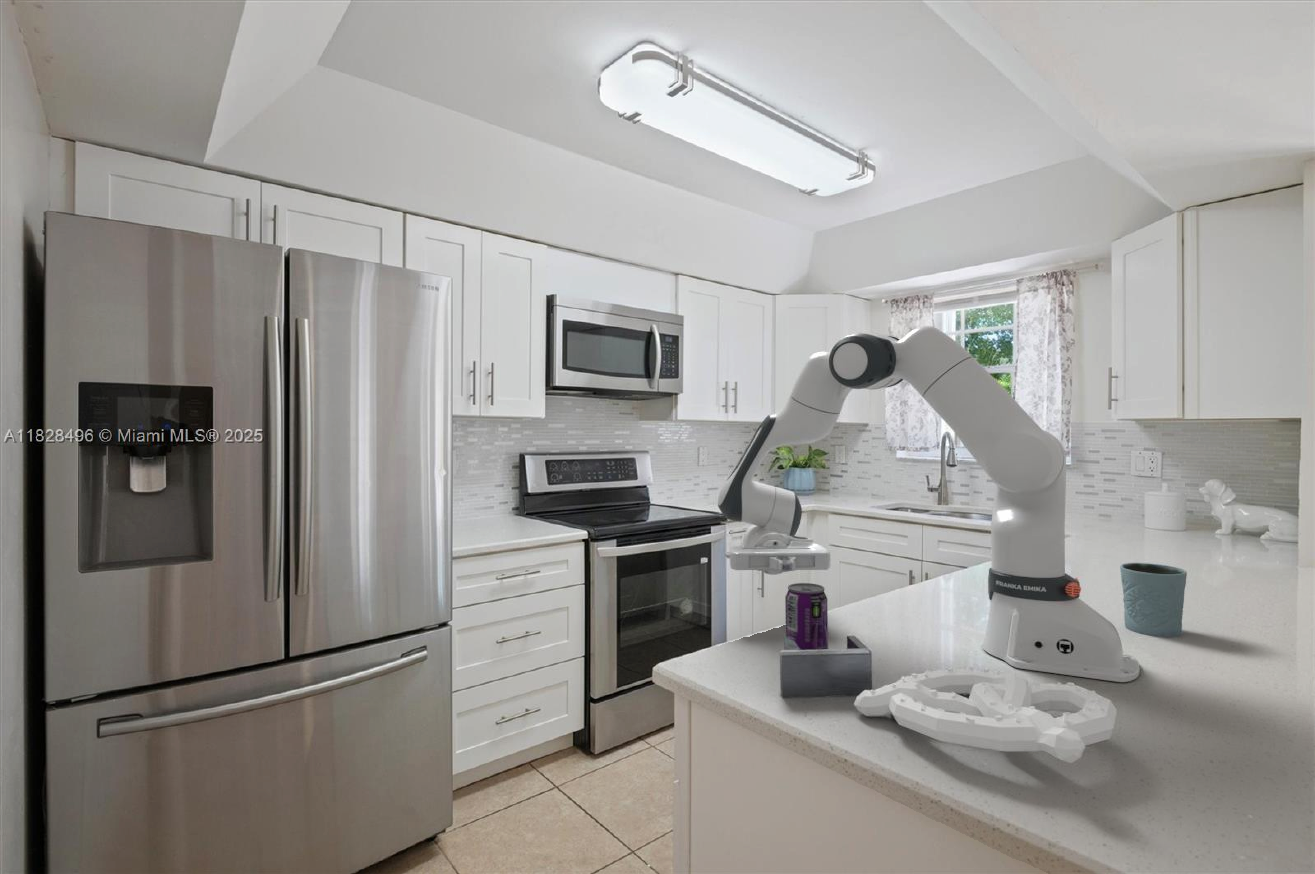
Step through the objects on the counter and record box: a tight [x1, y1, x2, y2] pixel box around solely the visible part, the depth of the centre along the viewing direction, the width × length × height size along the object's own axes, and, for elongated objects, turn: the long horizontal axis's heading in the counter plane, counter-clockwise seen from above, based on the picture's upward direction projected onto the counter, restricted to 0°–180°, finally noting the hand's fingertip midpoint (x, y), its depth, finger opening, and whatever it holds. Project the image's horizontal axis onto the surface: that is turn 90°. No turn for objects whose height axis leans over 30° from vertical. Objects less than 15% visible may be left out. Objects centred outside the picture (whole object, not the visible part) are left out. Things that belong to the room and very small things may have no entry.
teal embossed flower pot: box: [1119, 562, 1188, 638], centre depth 121 cm, size 10×10×12 cm
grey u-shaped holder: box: [779, 635, 873, 698], centre depth 97 cm, size 9×14×7 cm, turn 92°
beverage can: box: [784, 582, 829, 650], centre depth 109 cm, size 7×7×12 cm
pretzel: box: [853, 666, 1118, 764], centre depth 81 cm, size 28×24×6 cm
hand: (787, 566), depth 122 cm, fingers closed
